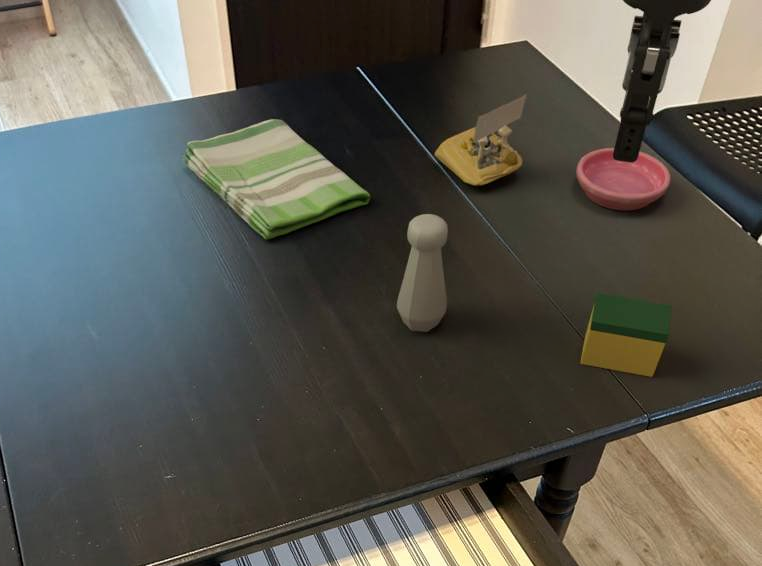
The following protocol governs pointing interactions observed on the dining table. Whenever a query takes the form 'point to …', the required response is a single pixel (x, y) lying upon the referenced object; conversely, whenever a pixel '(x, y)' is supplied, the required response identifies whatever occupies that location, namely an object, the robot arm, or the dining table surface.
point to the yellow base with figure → (484, 147)
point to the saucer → (622, 180)
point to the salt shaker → (424, 274)
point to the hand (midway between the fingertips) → (628, 136)
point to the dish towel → (273, 178)
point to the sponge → (626, 335)
